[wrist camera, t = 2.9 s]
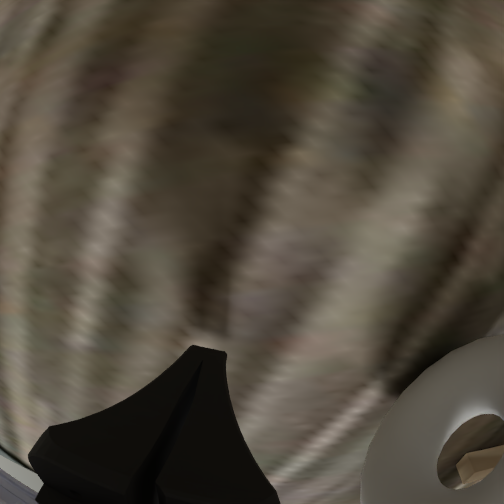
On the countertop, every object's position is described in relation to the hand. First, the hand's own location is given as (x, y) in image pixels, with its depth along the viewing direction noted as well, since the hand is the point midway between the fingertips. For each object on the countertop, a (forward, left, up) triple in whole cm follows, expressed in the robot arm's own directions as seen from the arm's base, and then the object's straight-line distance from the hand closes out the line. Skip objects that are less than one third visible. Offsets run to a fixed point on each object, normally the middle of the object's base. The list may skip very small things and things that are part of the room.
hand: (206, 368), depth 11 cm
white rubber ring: (0, -10, -2) cm, 10 cm away
